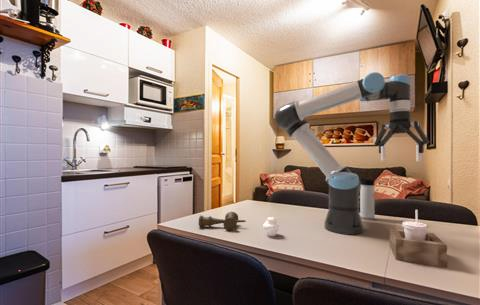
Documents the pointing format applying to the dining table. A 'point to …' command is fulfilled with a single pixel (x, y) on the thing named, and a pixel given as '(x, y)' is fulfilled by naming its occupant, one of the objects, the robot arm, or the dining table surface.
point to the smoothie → (415, 229)
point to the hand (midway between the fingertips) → (399, 161)
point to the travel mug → (367, 199)
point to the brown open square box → (418, 249)
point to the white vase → (271, 226)
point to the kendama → (221, 221)
